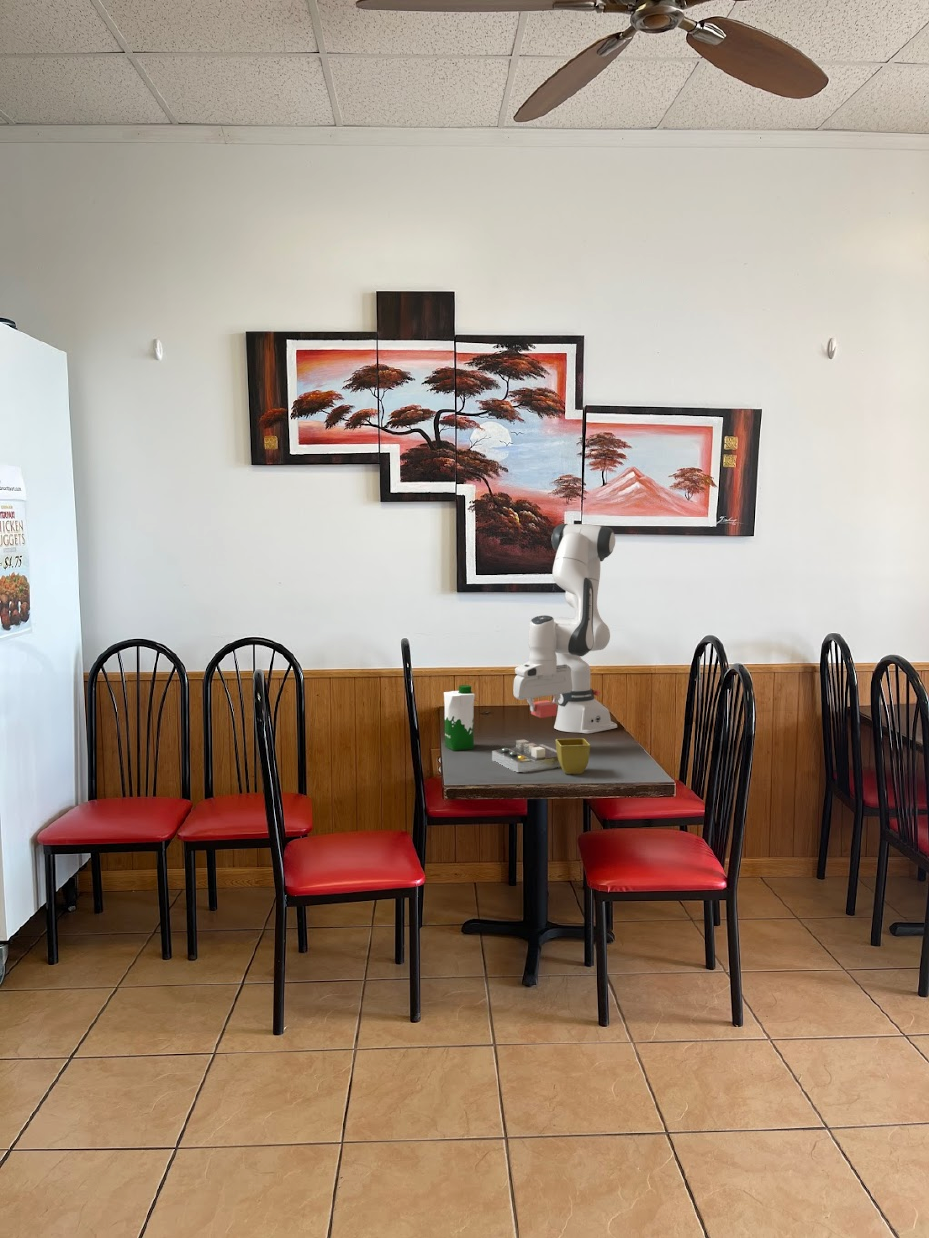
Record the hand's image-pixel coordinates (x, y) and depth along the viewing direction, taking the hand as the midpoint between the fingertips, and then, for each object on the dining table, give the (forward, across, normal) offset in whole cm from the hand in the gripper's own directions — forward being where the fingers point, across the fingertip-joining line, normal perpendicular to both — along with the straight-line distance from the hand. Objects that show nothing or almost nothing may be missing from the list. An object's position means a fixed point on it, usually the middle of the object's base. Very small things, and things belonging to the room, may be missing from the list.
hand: (543, 709), depth 292 cm
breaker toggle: (+9, +13, +19) cm, 25 cm away
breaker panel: (+12, +13, +14) cm, 22 cm away
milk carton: (+12, +24, -13) cm, 30 cm away
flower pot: (+12, +7, +28) cm, 31 cm away
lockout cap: (+2, 0, 0) cm, 2 cm away
